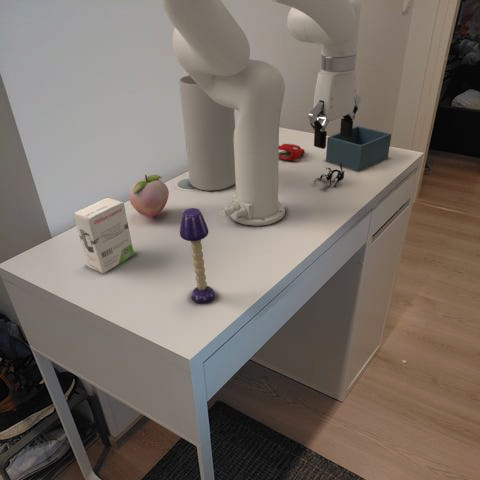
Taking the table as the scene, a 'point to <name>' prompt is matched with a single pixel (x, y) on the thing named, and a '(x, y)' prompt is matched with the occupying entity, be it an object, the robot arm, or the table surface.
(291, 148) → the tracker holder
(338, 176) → the creature
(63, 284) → the table surface
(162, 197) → the decorative fruit
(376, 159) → the teal open box
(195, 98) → the cylinder vase
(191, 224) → the toy lamp
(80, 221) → the ink box
